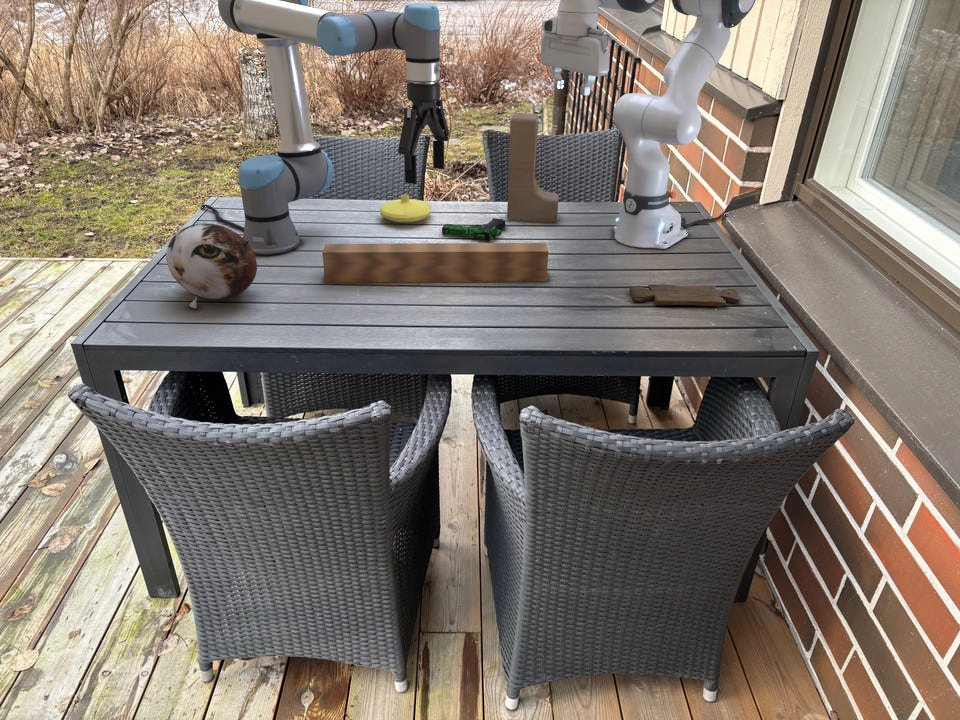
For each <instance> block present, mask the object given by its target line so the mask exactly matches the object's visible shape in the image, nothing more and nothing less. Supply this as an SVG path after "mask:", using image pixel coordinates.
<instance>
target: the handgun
mask: <svg viewBox="0 0 960 720" xmlns="http://www.w3.org/2000/svg"><path fill="white" fill-rule="evenodd" d="M505 228H506V220H505V219H503V218H497V217H492V219H491V220H490V221H489V222H488V223H483V224H482V225H479V224H472V225H459V224H453V223H445V224H443V226H442V227H441V235H446V236H454V237H462V238H469V239H470V238H471V239H474V240H479V241H484V242H491V241H492V240H494V239H495V238H497V237H500V236H502V230H504V229H505Z"/></svg>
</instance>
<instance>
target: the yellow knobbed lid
mask: <svg viewBox="0 0 960 720" xmlns="http://www.w3.org/2000/svg"><path fill="white" fill-rule="evenodd" d="M432 209H433V208H432V206H431V205H430V204H429V203H428V202H426V201H423V200H420V199H413V198H410V196H409V195H408V194H402V195H401V196H400V199H399V198H398V199H392V200H389V201H387V202H384V203H383V204H381V206H380V207H379V209H378V211H379V213H380V216H381V217H383V218H384V219H387V220H389V221H392V222H395V223H401V224H408V223H409V224H411V223H416V222H419V221H422V220H424V219H426V218H428V217H429V216H430V215H431V213H432Z"/></svg>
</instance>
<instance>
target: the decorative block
mask: <svg viewBox="0 0 960 720" xmlns="http://www.w3.org/2000/svg"><path fill="white" fill-rule="evenodd" d="M509 121H510V123H509V151H508V152H509V153H508V154H509V155H508V177H507V178H508V179H507V206H506V207H507V209H506V219H507V220H508V221H523V222H537V223H538V222H540V223H556V222H557V220H558V215H559V213H558V212H559V200H560V199H559V198H560V195H559V193H555V192H551V191H547V190H544V189H543V188H541V186H539V183H538V180H537V178H536V171H537V152H538V151H537V149H538V135H539V134H538V130H539V114H537V113H517V112H516V113H513V114H512V116H511V118H510V120H509Z"/></svg>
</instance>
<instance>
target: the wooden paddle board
mask: <svg viewBox="0 0 960 720" xmlns="http://www.w3.org/2000/svg"><path fill="white" fill-rule="evenodd" d="M629 290H630V296H631V299H632V301H633V302H635V303H643V302H648V301H651V300H654V303H655V305H656V306H703V307H705V306H706V307H707V306H708V307H725V306H726V305H727V302H729V303H735V304H738V303H739V302H740V297H739V294H738V291H737V289H735V288H727V289H721V290H717V289H716V285H675V284H648V285H647V288H645V287H643V286H641V285H631V286H630V287H629Z"/></svg>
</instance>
